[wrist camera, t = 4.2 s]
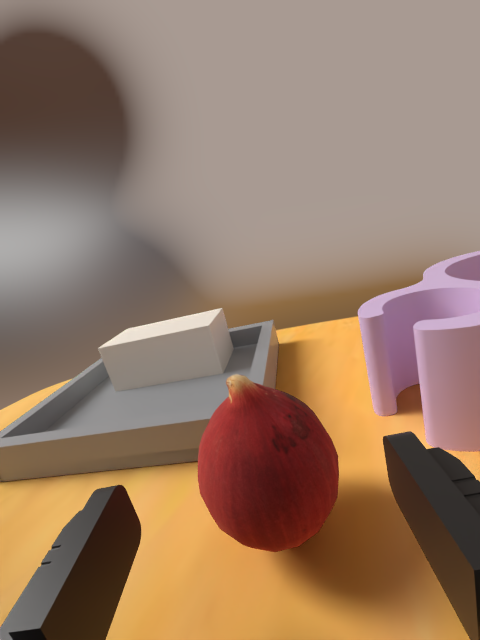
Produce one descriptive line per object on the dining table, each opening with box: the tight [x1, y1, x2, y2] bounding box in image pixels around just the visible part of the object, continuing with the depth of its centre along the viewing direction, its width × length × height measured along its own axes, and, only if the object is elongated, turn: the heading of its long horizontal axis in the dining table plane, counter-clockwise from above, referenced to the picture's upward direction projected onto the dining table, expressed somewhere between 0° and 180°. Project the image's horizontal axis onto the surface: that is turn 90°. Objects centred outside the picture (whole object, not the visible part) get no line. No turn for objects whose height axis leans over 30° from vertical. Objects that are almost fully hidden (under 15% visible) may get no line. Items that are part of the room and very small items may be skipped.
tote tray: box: [0, 320, 279, 482], centre depth 29 cm, size 22×18×3 cm
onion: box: [198, 374, 339, 552], centre depth 13 cm, size 6×6×8 cm
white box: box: [98, 308, 234, 392], centre depth 33 cm, size 12×6×5 cm, turn 81°
